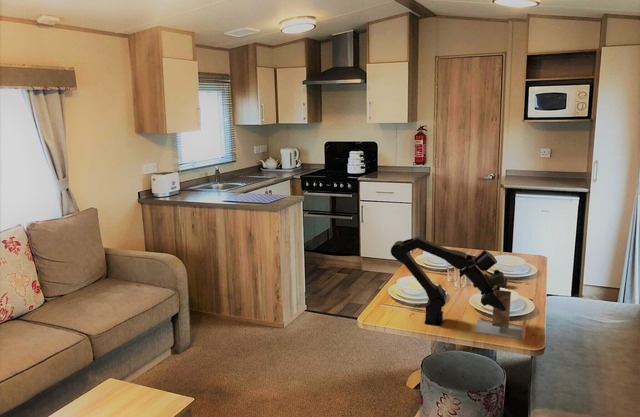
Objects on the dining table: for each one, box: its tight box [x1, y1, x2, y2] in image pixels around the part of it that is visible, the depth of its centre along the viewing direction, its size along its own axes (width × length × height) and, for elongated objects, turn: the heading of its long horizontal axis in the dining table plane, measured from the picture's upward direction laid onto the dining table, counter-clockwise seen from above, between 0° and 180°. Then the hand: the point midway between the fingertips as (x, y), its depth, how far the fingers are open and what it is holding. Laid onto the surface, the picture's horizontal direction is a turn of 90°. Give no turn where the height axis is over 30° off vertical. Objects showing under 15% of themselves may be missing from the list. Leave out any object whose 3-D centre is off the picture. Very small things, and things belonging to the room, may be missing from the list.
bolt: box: [496, 276, 508, 289], centre depth 255 cm, size 6×5×15 cm
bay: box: [473, 318, 527, 341], centre depth 205 cm, size 19×12×4 cm, turn 67°
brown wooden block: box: [491, 289, 512, 328], centre depth 204 cm, size 6×6×13 cm
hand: (505, 307), depth 203 cm, fingers closed on brown wooden block, 6 cm apart
